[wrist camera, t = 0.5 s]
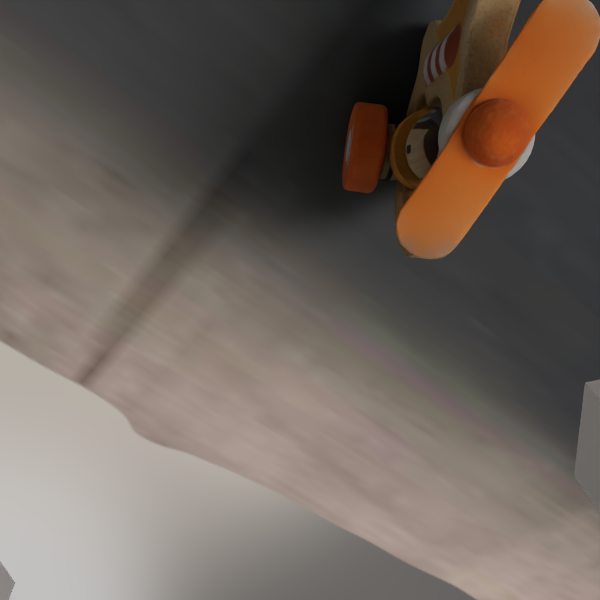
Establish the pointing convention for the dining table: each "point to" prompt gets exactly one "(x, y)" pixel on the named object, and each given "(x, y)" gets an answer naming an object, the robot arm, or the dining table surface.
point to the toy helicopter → (468, 115)
